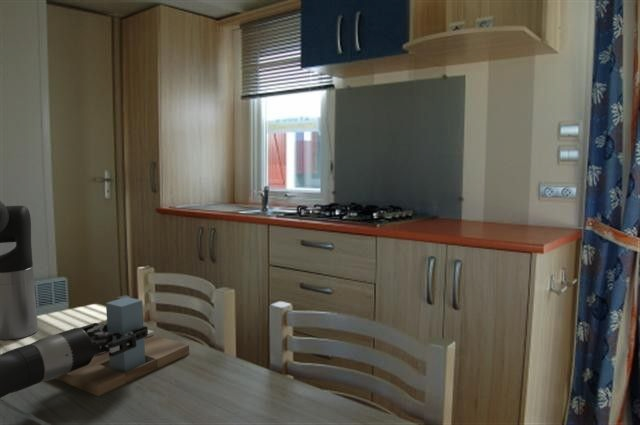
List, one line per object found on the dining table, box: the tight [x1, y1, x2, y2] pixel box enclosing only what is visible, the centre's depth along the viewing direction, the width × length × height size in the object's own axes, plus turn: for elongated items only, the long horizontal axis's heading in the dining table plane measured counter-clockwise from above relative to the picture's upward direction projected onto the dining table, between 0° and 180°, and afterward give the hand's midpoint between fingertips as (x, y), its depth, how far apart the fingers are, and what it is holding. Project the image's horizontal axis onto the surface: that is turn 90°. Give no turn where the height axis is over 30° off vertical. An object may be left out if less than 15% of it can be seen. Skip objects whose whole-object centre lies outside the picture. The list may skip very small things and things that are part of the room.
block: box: [105, 297, 145, 373], centre depth 102 cm, size 5×5×15 cm
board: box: [54, 334, 190, 397], centre depth 107 cm, size 21×23×2 cm
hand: (134, 327), depth 103 cm, fingers open, 7 cm apart
